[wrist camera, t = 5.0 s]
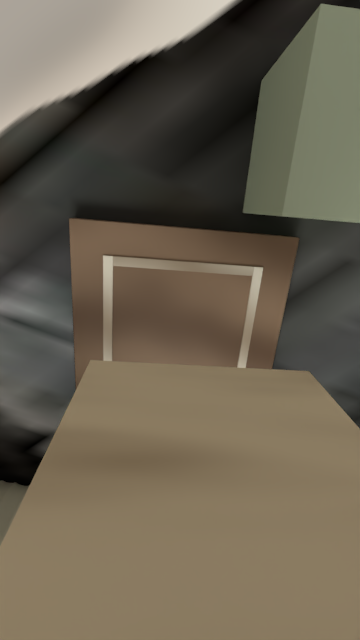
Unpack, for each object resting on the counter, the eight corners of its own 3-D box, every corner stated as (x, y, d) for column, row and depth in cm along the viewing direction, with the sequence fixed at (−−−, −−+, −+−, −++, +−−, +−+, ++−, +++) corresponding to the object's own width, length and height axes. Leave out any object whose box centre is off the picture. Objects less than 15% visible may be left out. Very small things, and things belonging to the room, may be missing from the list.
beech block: (269, 523, 11) (389, 882, 5) (93, 521, 10) (5, 912, 5) (308, 371, 9) (588, 686, 3) (90, 359, 8) (-78, 705, 2)
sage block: (346, 221, 17) (435, 229, 12) (242, 212, 17) (281, 216, 11) (379, 95, 15) (506, 29, 10) (260, 81, 15) (320, 3, 9)
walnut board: (256, 413, 21) (260, 423, 20) (80, 406, 20) (76, 417, 19) (292, 236, 17) (300, 238, 16) (74, 217, 16) (68, 218, 15)
